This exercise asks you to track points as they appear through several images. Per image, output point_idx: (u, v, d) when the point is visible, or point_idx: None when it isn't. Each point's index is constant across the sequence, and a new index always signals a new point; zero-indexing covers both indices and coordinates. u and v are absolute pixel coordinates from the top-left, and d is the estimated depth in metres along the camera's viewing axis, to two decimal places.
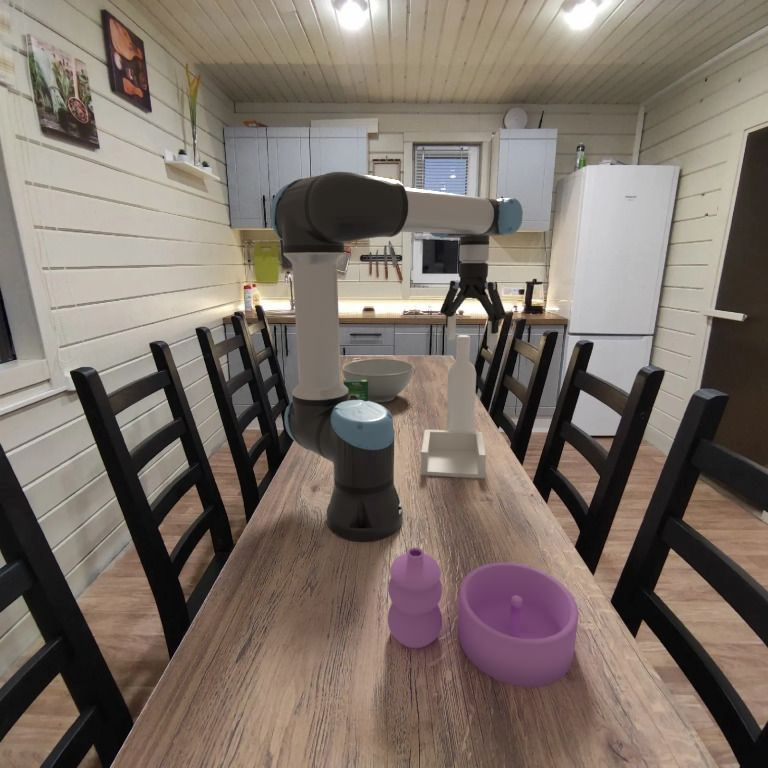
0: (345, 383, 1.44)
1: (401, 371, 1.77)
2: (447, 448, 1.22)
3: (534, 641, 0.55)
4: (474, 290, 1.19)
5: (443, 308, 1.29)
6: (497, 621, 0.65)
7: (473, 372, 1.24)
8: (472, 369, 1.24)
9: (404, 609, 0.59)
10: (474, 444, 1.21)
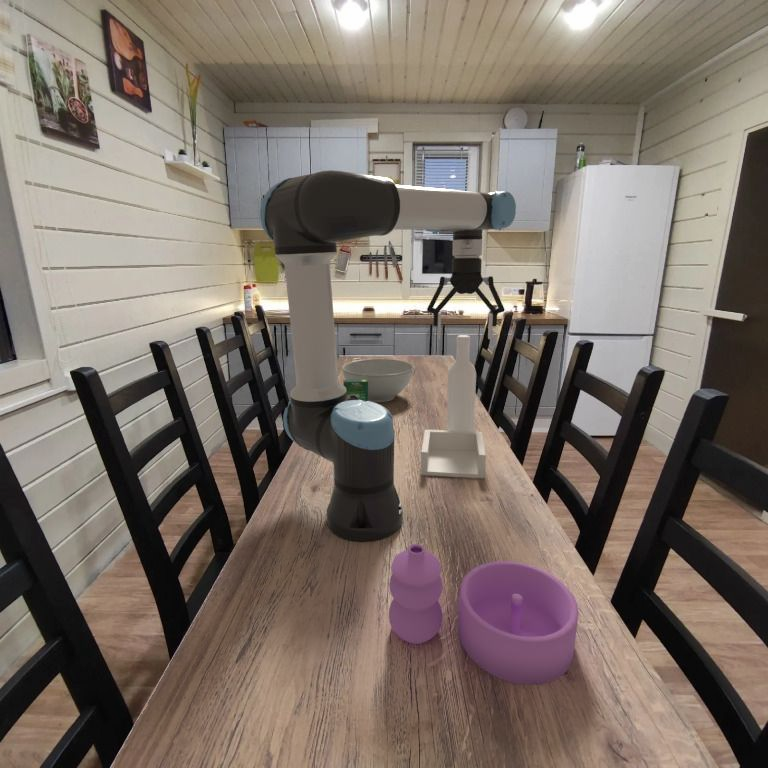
0: (345, 383, 1.44)
1: (401, 371, 1.77)
2: (447, 448, 1.22)
3: (532, 639, 0.55)
4: None
5: None
6: (497, 619, 0.65)
7: (473, 372, 1.24)
8: (472, 369, 1.24)
9: (404, 604, 0.60)
10: (474, 444, 1.21)
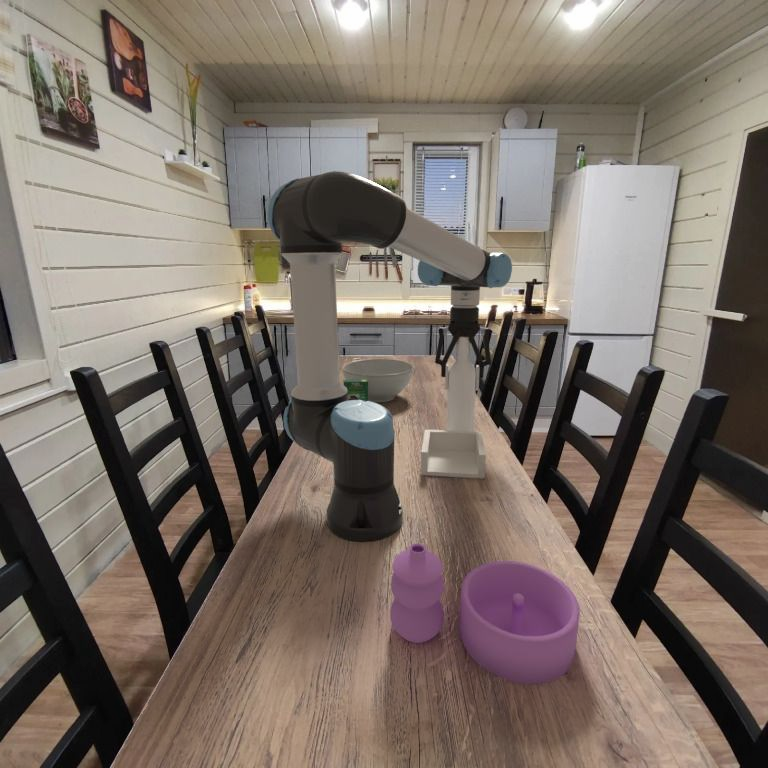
0: (345, 383, 1.44)
1: (401, 371, 1.77)
2: (447, 448, 1.22)
3: (533, 638, 0.55)
4: None
5: None
6: (499, 619, 0.65)
7: (473, 372, 1.24)
8: (472, 369, 1.24)
9: (406, 604, 0.60)
10: (474, 444, 1.21)
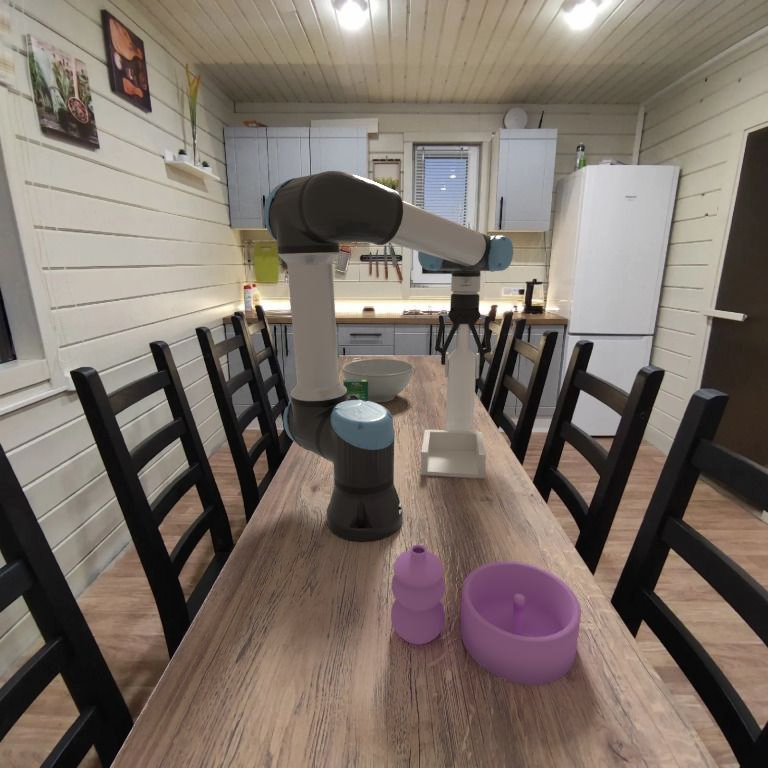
0: (345, 383, 1.44)
1: (401, 371, 1.77)
2: (447, 448, 1.22)
3: (535, 639, 0.55)
4: None
5: None
6: (499, 619, 0.65)
7: (473, 360, 1.23)
8: (472, 357, 1.23)
9: (407, 605, 0.60)
10: (474, 444, 1.21)
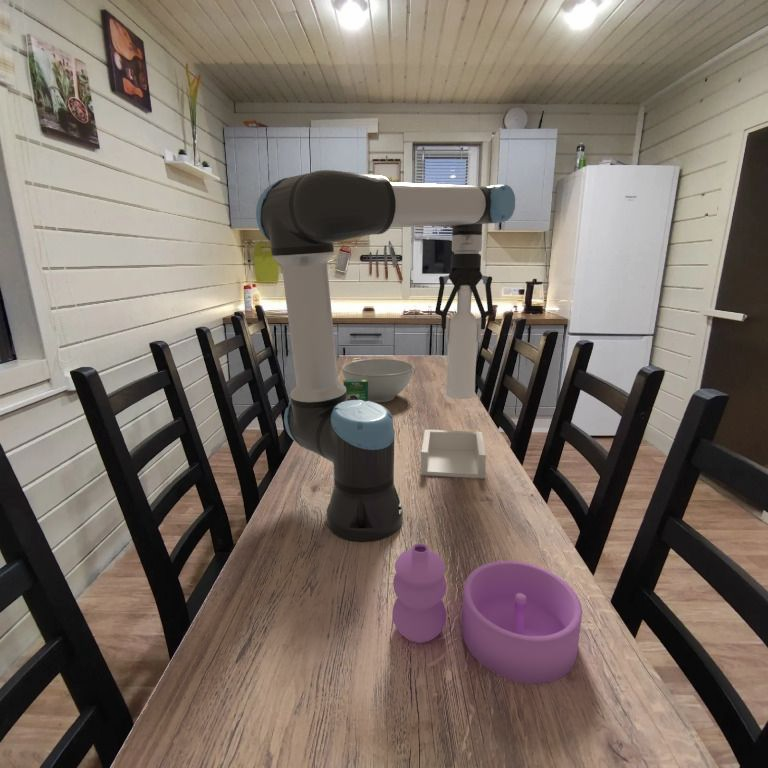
0: (345, 383, 1.44)
1: (401, 371, 1.77)
2: (447, 448, 1.22)
3: (536, 638, 0.55)
4: None
5: None
6: (501, 618, 0.65)
7: (475, 322, 1.20)
8: (474, 319, 1.19)
9: (408, 604, 0.60)
10: (474, 444, 1.21)
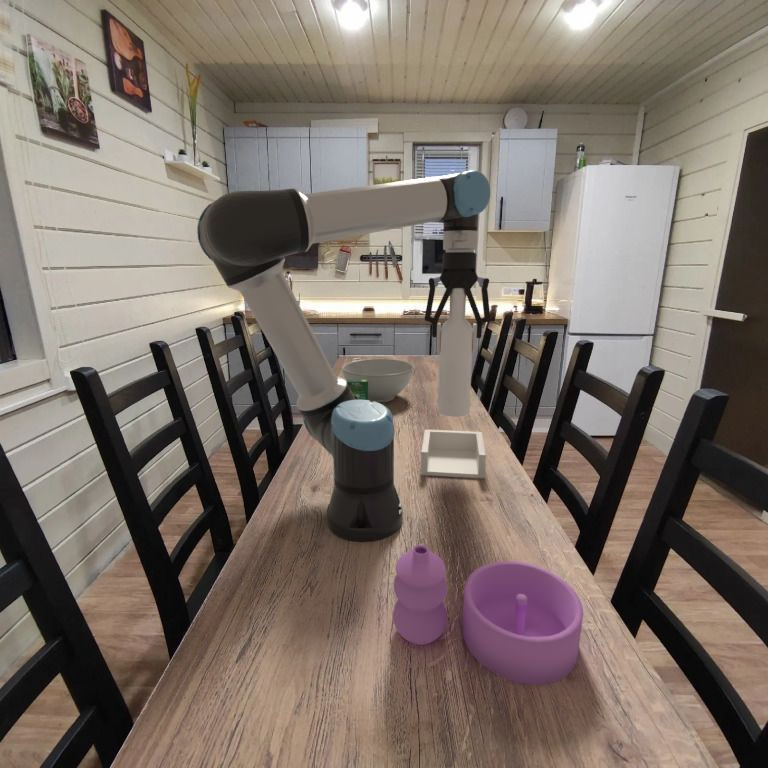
0: None
1: (401, 371, 1.77)
2: (447, 448, 1.22)
3: (538, 639, 0.55)
4: None
5: None
6: (501, 619, 0.65)
7: (469, 330, 1.05)
8: (468, 327, 1.05)
9: (409, 606, 0.60)
10: (474, 444, 1.21)
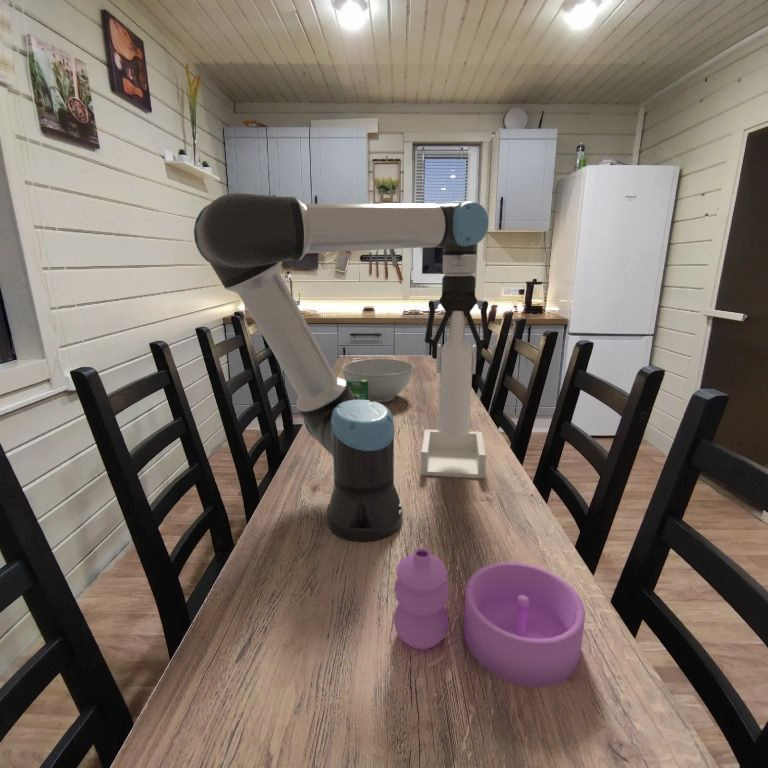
0: None
1: (401, 371, 1.77)
2: (447, 448, 1.22)
3: (542, 641, 0.55)
4: None
5: None
6: (502, 621, 0.65)
7: (469, 352, 1.06)
8: (468, 349, 1.06)
9: (411, 610, 0.59)
10: (474, 444, 1.21)
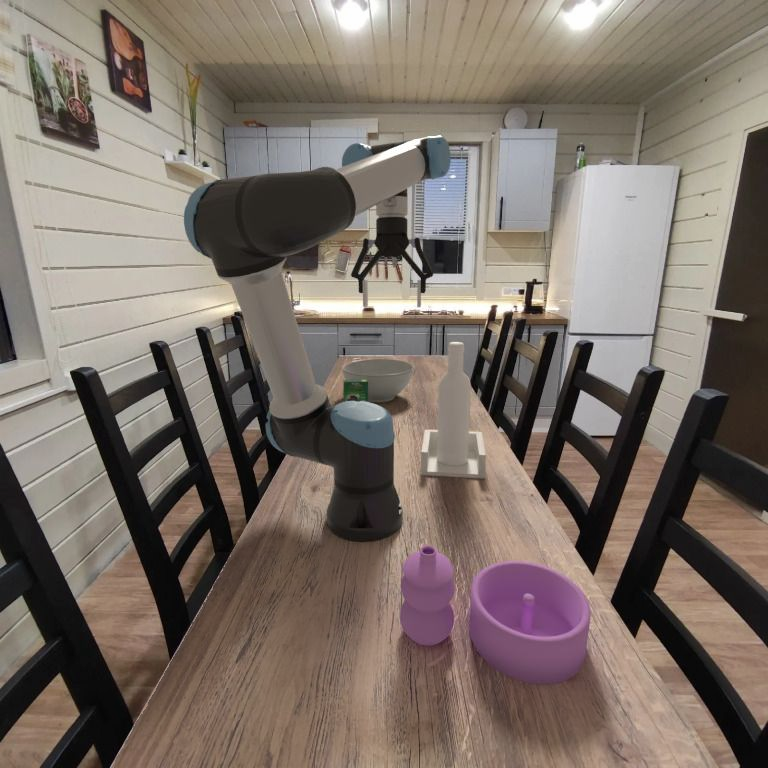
0: (345, 383, 1.44)
1: (401, 371, 1.77)
2: None
3: (547, 639, 0.55)
4: None
5: None
6: (508, 619, 0.65)
7: (467, 384, 1.08)
8: (466, 381, 1.08)
9: (417, 607, 0.59)
10: (474, 444, 1.21)
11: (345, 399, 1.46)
